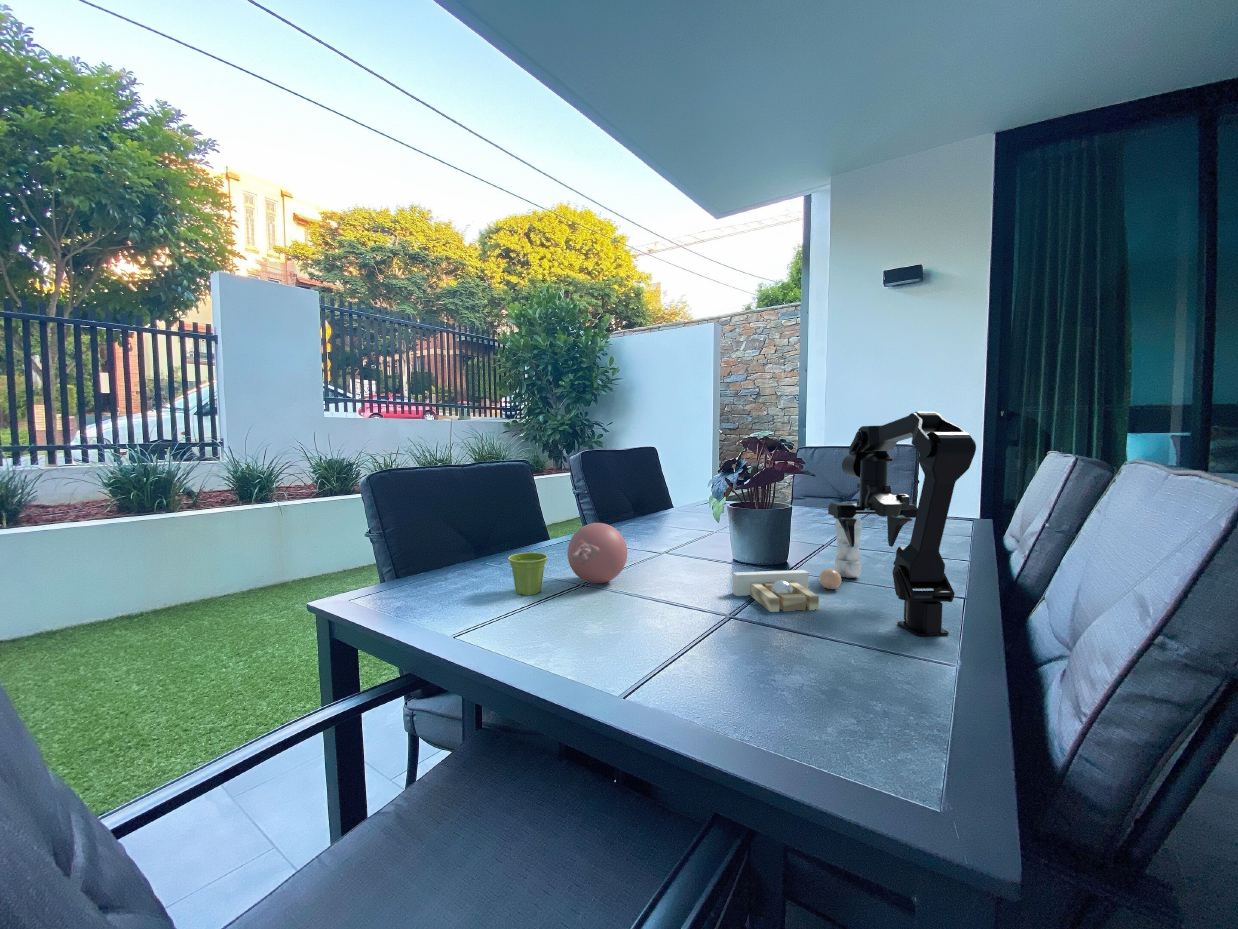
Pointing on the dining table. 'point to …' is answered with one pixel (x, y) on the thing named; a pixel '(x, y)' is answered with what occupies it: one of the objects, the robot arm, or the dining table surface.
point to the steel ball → (782, 588)
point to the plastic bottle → (848, 550)
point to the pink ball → (597, 553)
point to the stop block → (766, 579)
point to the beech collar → (784, 598)
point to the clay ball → (830, 578)
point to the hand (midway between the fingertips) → (871, 546)
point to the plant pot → (528, 572)
